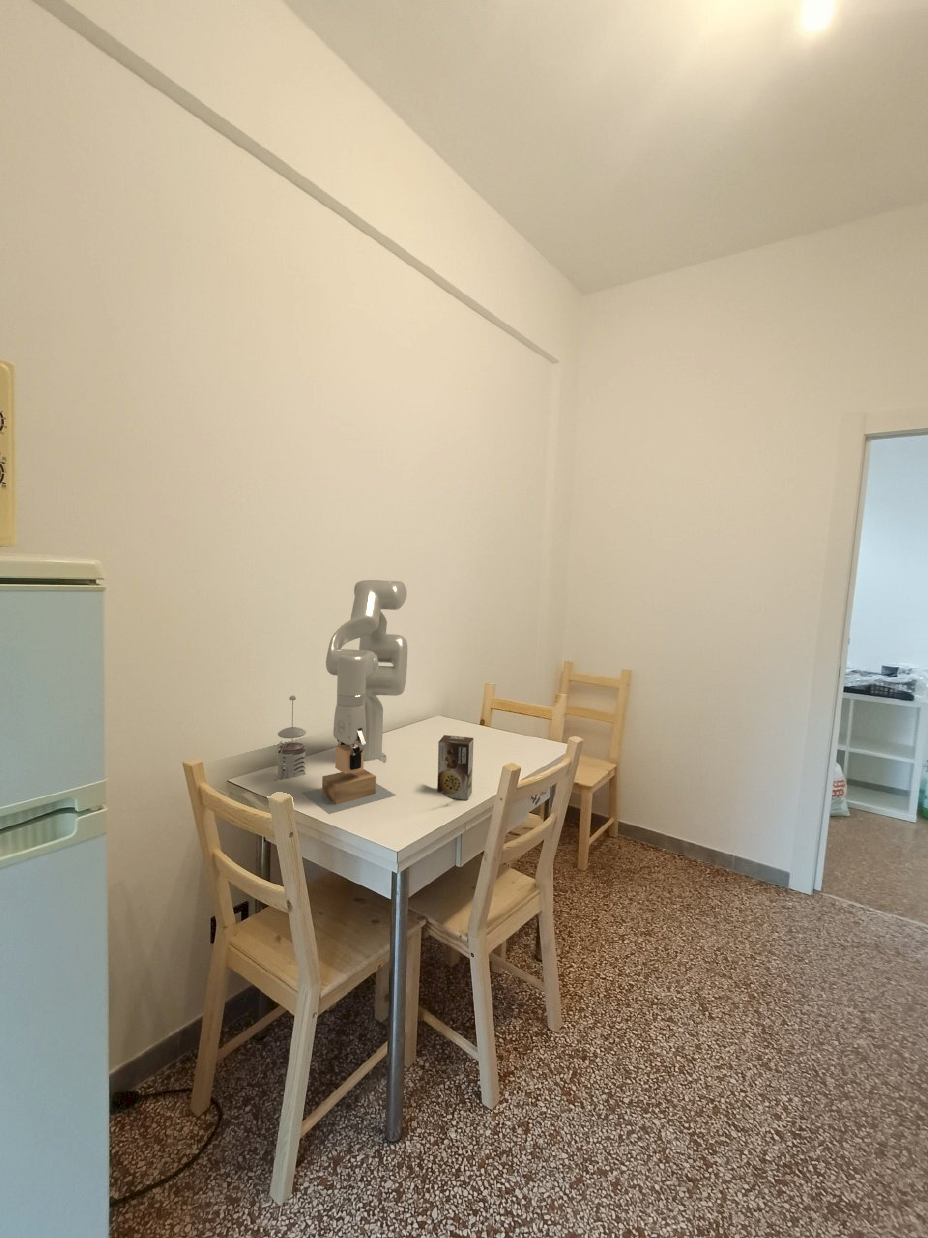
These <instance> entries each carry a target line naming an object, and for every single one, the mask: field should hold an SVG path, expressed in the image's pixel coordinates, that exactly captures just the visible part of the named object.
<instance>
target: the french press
mask: <svg viewBox="0 0 928 1238" xmlns="http://www.w3.org/2000/svg"><path fill="white" fill-rule="evenodd" d="M296 699H297V697H296V696H295V695H290V696H289V699H288V700H289V701H292V703H291V726H289V727H285V728H283V729H281V730H280V731H279V732H278V733H277V736H278V737H279V738H283V739H295V738H296V739H297V738H300V737H303V736H306V734H307V731H306V730H305V729H303V728H301V727H296V726H294V725H293V722H294V720H293V715H294V707H293V706H294V701H296ZM280 744H281V745H280ZM284 759H285V760H284ZM275 761H276V764H277V775H276V776H275V777H276V778H275V777H274V778H275V779H276V780H277V781H276V782H279V781H283V780H286V779H288V780H289V779H293V778H299V777H301V776H304V775H307V773H306V767H305V766H306V763H305V762H306V749H305V744H303V743H302V742H290V741H289V742H287V741H285V742H284V743H283V741H282V740H281V741H279V743H278V745H277V747H276V751H275Z"/></svg>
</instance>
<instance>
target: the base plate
mask: <svg viewBox="0 0 928 1238" xmlns="http://www.w3.org/2000/svg"><path fill="white" fill-rule="evenodd" d="M301 794H302V795H304V796H305V797H306V798H307V799H309V800H310V801H312V803H314V804H315V805H316V806H318V807H319V808H320V809H321V810H323V811H324V812H325V813H327V814H329V815H331V814H335V813H338V812H342V811H345V810H349V809H353V808H356V807H359V806H363V805H368V804H370V803H373V802H378V801H381V800H386V799H387V798H388V799H389V798H391V797H396V794H394V793H393V792H392V791H390V790H389V789H387V788H384V787H383V786H382V785H379V784H378V783H376V794H373V795H369V796H366V797H362V798H358V799H355V800H351V801H347V802H344V803H340V804H335V803H333V802H332V801H331V800H329V799H328V798H326V797H325V796H324V795H322V787H321V788H317V789H313V790H312V789H311V790H307V791H304V792H302V793H301Z"/></svg>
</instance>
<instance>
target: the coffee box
mask: <svg viewBox="0 0 928 1238" xmlns="http://www.w3.org/2000/svg"><path fill="white" fill-rule="evenodd" d="M437 744H438V747H437V748H438V749H437V751H438V752H437V753H438V754H437V756H438V757H437V784H436V785H437V787H436V788H437V789H436V790H437V792H438V793H439V794H442V795H443V796H445V797H447V798H449V799H457V800H458V799H459V800H469V798H470V796H471V794H472V793H473V791H472V790H473V766H474V763H473V761H474V737H469V736H459V735H446V734H444V735H443V736H442V737H441V738H440V740H439V741H437Z"/></svg>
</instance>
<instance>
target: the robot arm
mask: <svg viewBox="0 0 928 1238" xmlns="http://www.w3.org/2000/svg"><path fill="white" fill-rule="evenodd" d="M353 588H354V589H353V594H354V597H353V598H354V599H353V602H352V607H351V608H352V609H351V613H350V618H349V620H348V621H346V622H345V623H343V624H342V625H341V626H340V627H339V628H338V629H337V630H336V631H335V632H334V633H333V635H332V636H331V638H330V641H329V643H328V649H327V652H326V659H325V669H326V671H327V672H328V673H329V674H330V675H332V676H337V681H336V682H337V684H336V687H337V688H336V705H335V712H334V719H333V732H332V733H333V737H334V738H335V739H336V741H337V746H340V745H345V744H347V745H350V747H351V754H352V755H350V770H354V769H358V768H361V754H362V753H363V750H364V762H370V761H376V760H378V761H379V762H382V763H385V762H387V758H388V757H387V755H386V753H384V752H383V731H384V730H383V727H384V726H383V724H384V708H383V705H382V702H381V701H380V699H379V697H377V696H391V697H392V696H393V697H394V696H395V697H396V696H401V695H402V694H403V693H404V692H405V689H406V682H407V670H408V668H407V667H408V666H407V665H408V642H407V639H406V638H405V636H403V635H402V634H393V633H392V634H391V633H389V634H388V633H387V624H388V621H387V618H386V616H385V615H384V614H383V612H382V611H381V610H393V611H398V610H400V609H401V608H402V607H403V606H404V605H405V602H406V600H407V587H406V584H405V583H404V582H403V581H401V580H400V581H399V580H380V579H379V580H378V579H377V580H376V579H363V580H360V581H357V582H356V583H355V585H354V587H353ZM357 639H359V646H358V647H359V648H358V649H350V648H349V649H347V648H346V649H345V648H343V647H344V646H345V645H347V643H349V642H351V641H355V640H357ZM379 663H384V664H386V663H387V664H392V665H388V666H387V665H379ZM354 745H358V747H356V749H355V748H354Z"/></svg>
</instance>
